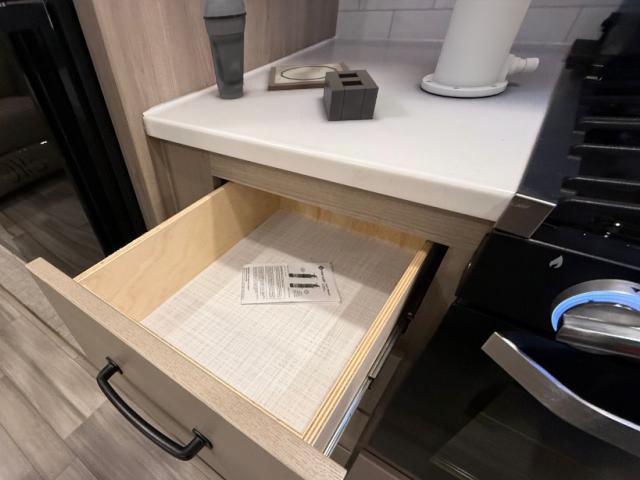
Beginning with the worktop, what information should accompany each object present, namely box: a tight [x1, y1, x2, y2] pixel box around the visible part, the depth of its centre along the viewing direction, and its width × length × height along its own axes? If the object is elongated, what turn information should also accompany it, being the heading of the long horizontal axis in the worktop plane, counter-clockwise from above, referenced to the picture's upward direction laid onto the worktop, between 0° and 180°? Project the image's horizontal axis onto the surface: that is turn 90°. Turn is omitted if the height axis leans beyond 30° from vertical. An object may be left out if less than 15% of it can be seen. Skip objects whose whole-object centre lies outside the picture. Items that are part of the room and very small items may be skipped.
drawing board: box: [267, 61, 349, 91], centre depth 66 cm, size 16×16×1 cm
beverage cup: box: [202, 0, 247, 100], centre depth 54 cm, size 7×7×20 cm
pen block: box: [322, 68, 380, 122], centre depth 50 cm, size 6×11×4 cm, turn 174°
